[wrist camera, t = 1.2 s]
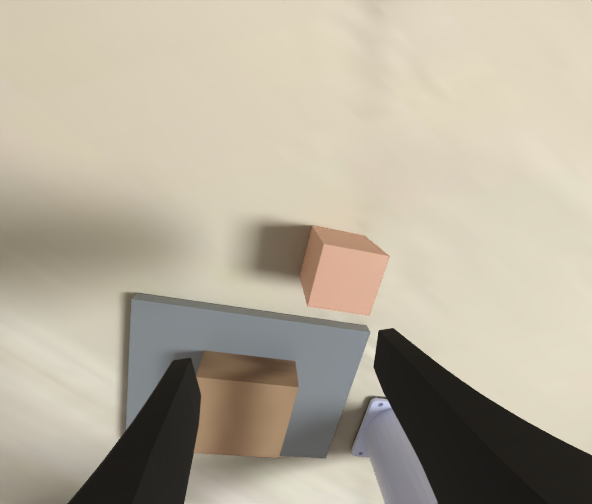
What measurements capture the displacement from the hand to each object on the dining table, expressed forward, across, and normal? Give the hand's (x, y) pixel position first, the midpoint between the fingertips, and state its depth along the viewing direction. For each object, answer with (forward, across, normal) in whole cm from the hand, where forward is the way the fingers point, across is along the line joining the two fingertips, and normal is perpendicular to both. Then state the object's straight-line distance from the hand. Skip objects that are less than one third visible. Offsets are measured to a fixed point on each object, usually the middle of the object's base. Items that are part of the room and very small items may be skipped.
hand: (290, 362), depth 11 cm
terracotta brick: (+12, -5, +2) cm, 13 cm away
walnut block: (+10, +3, +14) cm, 18 cm away
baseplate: (+11, +3, +14) cm, 18 cm away
